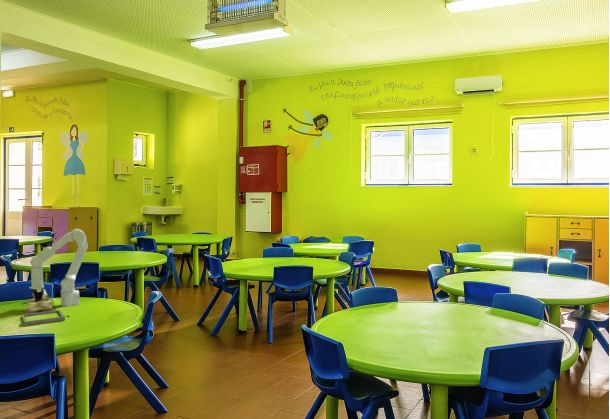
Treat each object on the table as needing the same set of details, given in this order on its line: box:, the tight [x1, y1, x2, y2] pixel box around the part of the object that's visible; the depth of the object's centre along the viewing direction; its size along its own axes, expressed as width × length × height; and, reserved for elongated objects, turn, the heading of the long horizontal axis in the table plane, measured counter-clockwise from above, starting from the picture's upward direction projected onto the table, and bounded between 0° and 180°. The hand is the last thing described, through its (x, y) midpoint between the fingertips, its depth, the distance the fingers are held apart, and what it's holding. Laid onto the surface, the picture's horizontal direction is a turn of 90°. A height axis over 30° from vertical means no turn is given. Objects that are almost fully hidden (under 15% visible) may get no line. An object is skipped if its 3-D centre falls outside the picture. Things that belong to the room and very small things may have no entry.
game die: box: [31, 287, 50, 299], centre depth 308 cm, size 9×8×10 cm
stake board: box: [22, 300, 57, 315], centre depth 280 cm, size 15×16×7 cm
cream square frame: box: [26, 296, 53, 311], centre depth 281 cm, size 11×12×4 cm
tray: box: [21, 309, 66, 327], centre depth 265 cm, size 18×18×2 cm
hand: (38, 302), depth 285 cm, fingers closed on cream square frame, 3 cm apart
